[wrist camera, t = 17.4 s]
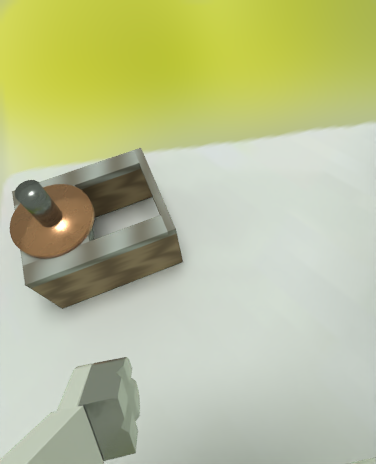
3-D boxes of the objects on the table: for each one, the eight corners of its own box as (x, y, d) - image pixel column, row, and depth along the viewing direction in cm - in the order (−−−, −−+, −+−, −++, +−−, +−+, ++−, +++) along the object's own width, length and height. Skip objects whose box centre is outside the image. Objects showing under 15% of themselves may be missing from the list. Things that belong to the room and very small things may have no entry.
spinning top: (97, 199, 47) (65, 143, 37) (114, 257, 42) (83, 211, 32) (30, 223, 45) (-23, 172, 35) (40, 285, 41) (-17, 246, 31)
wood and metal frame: (152, 190, 53) (140, 147, 44) (182, 261, 46) (175, 228, 38) (47, 228, 51) (12, 191, 42) (62, 308, 44) (25, 285, 36)
